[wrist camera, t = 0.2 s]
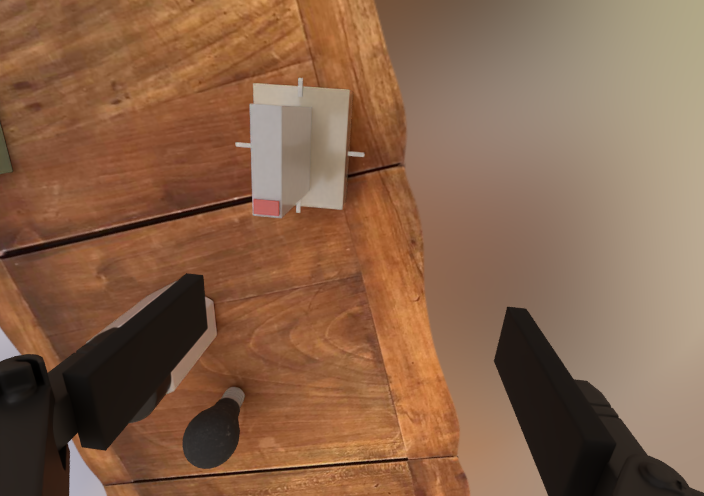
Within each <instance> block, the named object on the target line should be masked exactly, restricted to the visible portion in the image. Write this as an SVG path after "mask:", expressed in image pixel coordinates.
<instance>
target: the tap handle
mask: <svg viewBox="0 0 704 496" xmlns="http://www.w3.org/2000/svg"><path fill="white" fill-rule="evenodd" d="M311 127H312V107H307V106H294V105H273V104H250V135H251V170H252V204H253V216H262V217H273V218H283V217H284V216H285V215H286V214H287V213H288V212H289V211H290V210H291V209H292V208H293V207H294V206H295V205H296V204H297V203H298V202H299V201H300V200H301V199H302V198H303V197H304V196H305V195H306V194H307V193H308V192H309V191H310V164H311Z"/></svg>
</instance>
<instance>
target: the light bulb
mask: <svg viewBox="0 0 704 496" xmlns="http://www.w3.org/2000/svg"><path fill="white" fill-rule="evenodd" d="M244 397H245V395H244V393H243V391H242V390H241V389H240V388H237V387H230V388H228V389H227V390H226V392H225V393H224V395H223V396H222V398H221V399H220V400H219V401H218V402H217V403H216V404H215V405H214V406H212V407H211V408H208V409H206V410H204V411H202V412H201V413H199V414H198V415H197V416H196V417H194V418H193V419H192V421H191V422H190V423H189V425H188V426H187V428H186V430H185V433H184V436H183V451H184V454H185V457H186V458H187V460H188V461H189V462H190V463H191V464H192V465H194V466H196V467H198V468H203V469H210V468H214V467H217V466H219V465H221V464H223V463H224V462H225V461H227V460H228V459H229V458H230V456H231V455H232V454H233V453H234V451H235V449H236V447H237V445H238V441H239V433H240V428H239V422H238V416H239V412H240V407H241V405H242V403H243V401H244Z"/></svg>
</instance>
